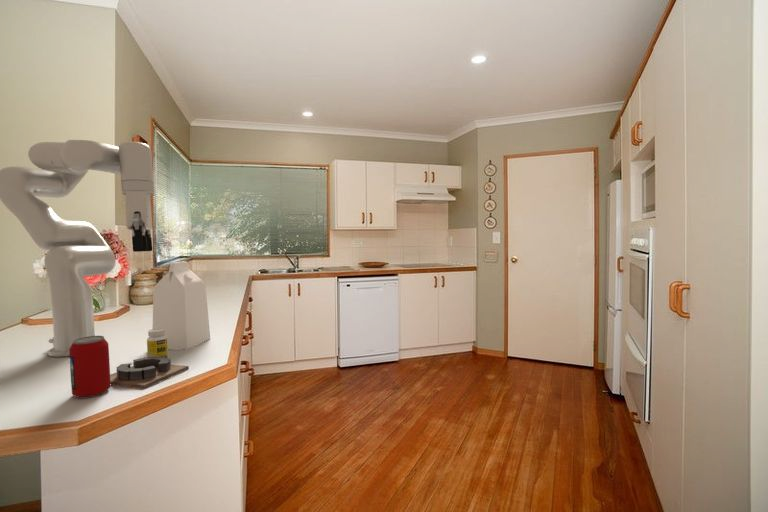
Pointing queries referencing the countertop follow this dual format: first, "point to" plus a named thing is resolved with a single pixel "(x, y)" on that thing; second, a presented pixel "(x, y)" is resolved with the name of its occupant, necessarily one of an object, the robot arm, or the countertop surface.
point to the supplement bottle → (157, 343)
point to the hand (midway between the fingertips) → (143, 251)
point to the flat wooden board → (145, 372)
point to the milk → (181, 307)
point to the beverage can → (89, 366)
